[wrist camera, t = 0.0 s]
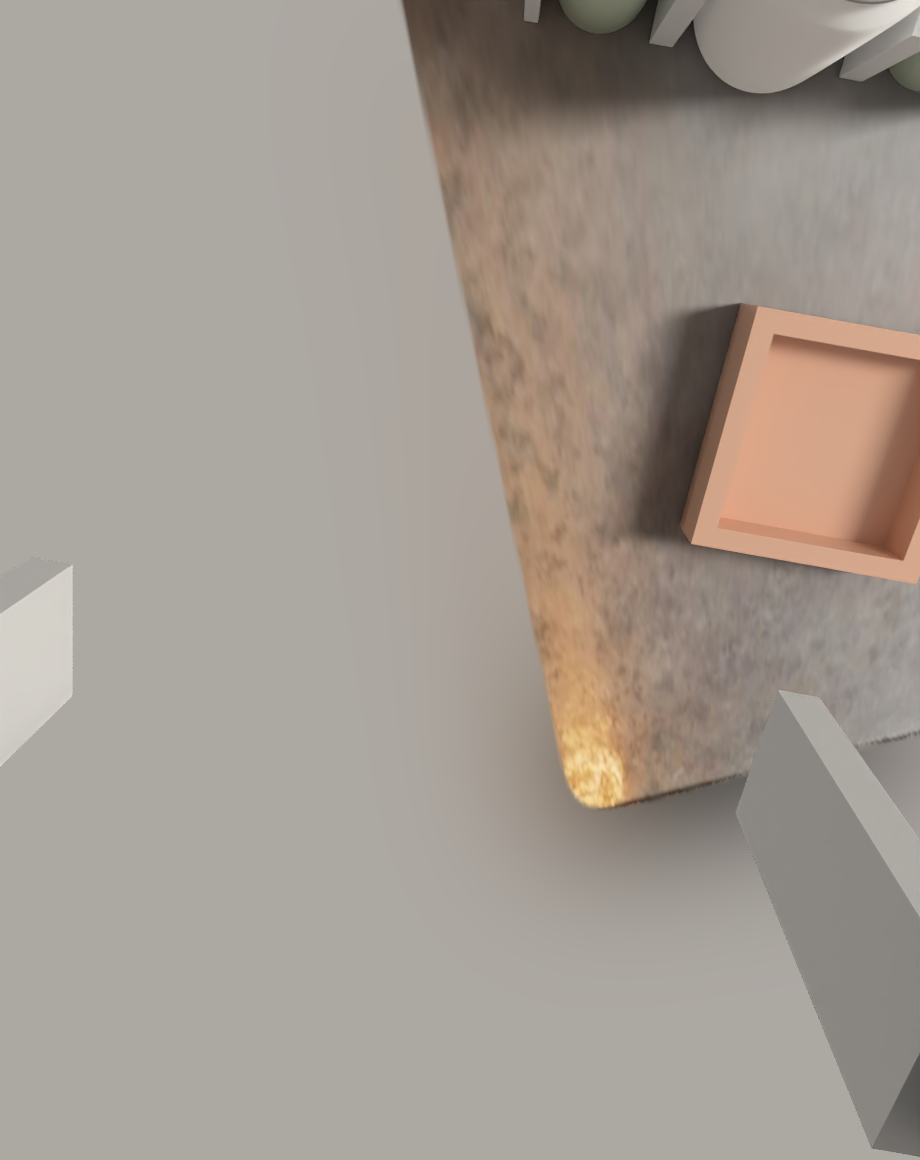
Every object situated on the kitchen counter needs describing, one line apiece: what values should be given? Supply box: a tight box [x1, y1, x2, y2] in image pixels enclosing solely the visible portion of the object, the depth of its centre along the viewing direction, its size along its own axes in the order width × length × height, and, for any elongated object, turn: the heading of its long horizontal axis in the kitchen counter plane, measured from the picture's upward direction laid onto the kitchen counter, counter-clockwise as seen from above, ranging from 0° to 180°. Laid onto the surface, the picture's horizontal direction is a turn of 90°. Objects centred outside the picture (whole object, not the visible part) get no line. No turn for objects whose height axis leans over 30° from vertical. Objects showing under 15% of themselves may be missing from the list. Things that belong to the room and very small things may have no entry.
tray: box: [679, 303, 920, 584], centre depth 40 cm, size 11×11×3 cm
